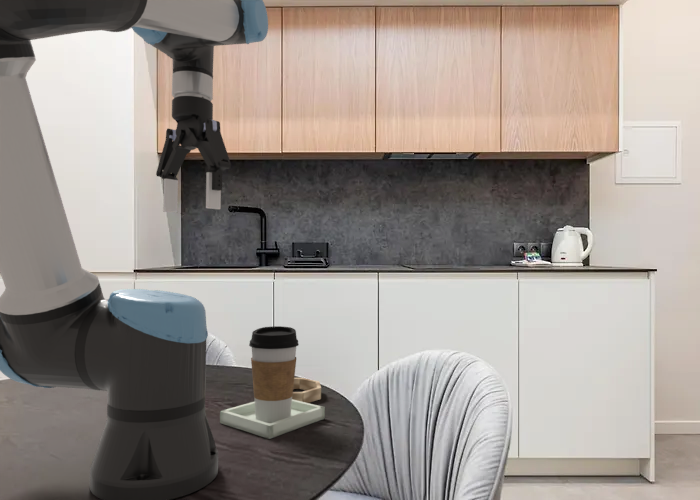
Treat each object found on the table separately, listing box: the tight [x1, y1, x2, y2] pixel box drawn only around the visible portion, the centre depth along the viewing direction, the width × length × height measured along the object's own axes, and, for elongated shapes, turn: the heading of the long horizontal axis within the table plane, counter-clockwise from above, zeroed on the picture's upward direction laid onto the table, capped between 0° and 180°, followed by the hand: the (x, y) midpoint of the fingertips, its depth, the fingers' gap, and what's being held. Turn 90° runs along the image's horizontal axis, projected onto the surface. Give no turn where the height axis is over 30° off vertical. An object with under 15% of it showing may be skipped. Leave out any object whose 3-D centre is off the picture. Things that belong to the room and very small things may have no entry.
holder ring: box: [292, 377, 322, 404], centre depth 104 cm, size 13×13×2 cm
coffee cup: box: [248, 326, 299, 423], centre depth 88 cm, size 8×8×15 cm
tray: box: [219, 399, 326, 440], centre depth 88 cm, size 13×12×2 cm
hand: (191, 210), depth 98 cm, fingers open, 13 cm apart
